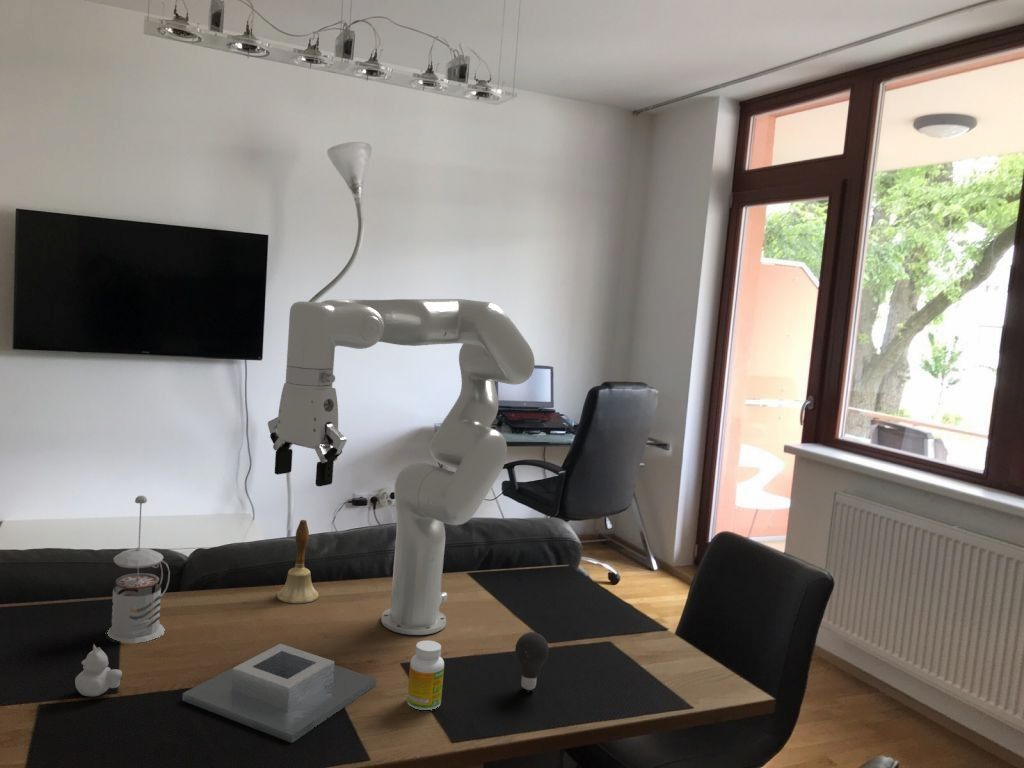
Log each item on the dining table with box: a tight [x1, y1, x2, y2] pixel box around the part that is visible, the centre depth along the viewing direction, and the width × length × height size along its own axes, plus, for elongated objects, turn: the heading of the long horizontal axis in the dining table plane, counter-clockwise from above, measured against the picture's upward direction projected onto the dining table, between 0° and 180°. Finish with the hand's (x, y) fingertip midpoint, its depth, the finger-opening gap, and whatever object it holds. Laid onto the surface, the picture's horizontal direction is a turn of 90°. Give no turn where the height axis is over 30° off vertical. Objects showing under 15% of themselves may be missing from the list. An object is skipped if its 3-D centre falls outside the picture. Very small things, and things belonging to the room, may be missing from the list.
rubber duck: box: [74, 644, 123, 697], centre depth 128 cm, size 5×7×8 cm
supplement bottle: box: [406, 640, 445, 711], centre depth 134 cm, size 5×5×10 cm
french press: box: [106, 495, 171, 643], centre depth 150 cm, size 10×12×25 cm
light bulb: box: [514, 631, 550, 691], centre depth 142 cm, size 6×6×10 cm
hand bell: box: [276, 519, 319, 604], centre depth 173 cm, size 8×8×16 cm
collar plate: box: [182, 643, 377, 744], centre depth 134 cm, size 21×21×5 cm
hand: (303, 479), depth 141 cm, fingers open, 9 cm apart
